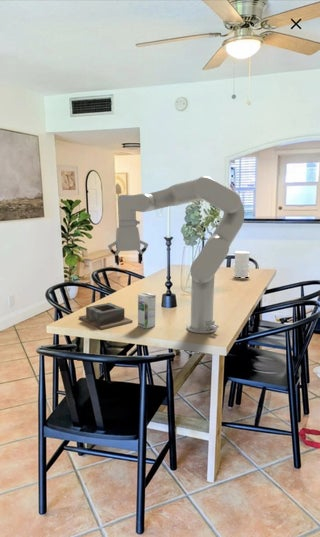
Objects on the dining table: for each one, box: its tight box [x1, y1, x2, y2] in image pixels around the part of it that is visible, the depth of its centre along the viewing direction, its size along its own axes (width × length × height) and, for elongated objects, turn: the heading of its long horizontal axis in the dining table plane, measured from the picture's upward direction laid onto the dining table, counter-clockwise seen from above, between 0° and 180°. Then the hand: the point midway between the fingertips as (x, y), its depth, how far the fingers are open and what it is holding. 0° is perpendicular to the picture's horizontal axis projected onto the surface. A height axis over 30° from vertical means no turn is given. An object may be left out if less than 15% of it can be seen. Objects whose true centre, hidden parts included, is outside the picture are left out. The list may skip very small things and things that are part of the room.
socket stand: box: [78, 302, 133, 330], centre depth 178 cm, size 20×16×6 cm
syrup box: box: [137, 292, 157, 329], centre depth 170 cm, size 6×6×14 cm
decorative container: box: [232, 250, 251, 278], centre depth 279 cm, size 12×12×18 cm
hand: (128, 263), depth 168 cm, fingers open, 9 cm apart
